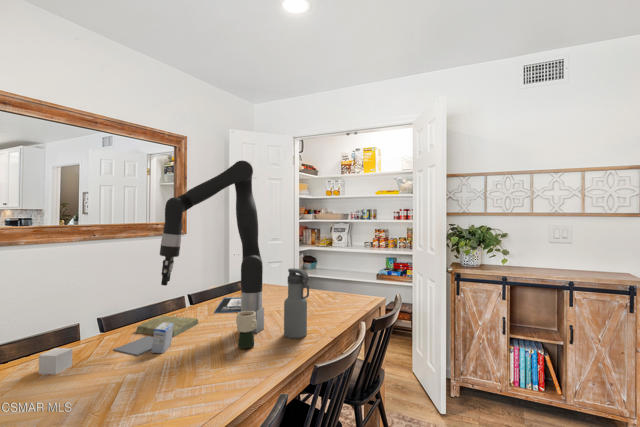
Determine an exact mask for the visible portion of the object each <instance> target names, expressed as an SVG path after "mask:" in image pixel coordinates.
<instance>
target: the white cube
mask: <svg viewBox="0 0 640 427" xmlns="http://www.w3.org/2000/svg"><path fill="white" fill-rule="evenodd" d="M71 366H72V367H73V348H69V347H68V348H67V347H65V348H63V347H54V348H53V349H50V350H48V351H45V352H43V353H40V354H39V355H38V374H39V375H48V374H52V376H53V375H54V376H57V375H58V373H59V374H60V373H63V372H64V371H66V370H68V369H70V368H72V367H71ZM69 367H70V368H69ZM67 368H68V369H67ZM65 369H66V370H65ZM63 370H64V371H63ZM56 374H57V375H56Z"/></svg>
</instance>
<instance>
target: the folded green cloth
mask: <svg viewBox="0 0 640 427" xmlns="http://www.w3.org/2000/svg"><path fill="white" fill-rule="evenodd" d="M163 322H164V323H172V324H174V327H173V334H172V338H175V337H177V336H179V335H181V334H182V333H185V332H186V331H188V330H190V329H191V328H193V327H196V326H197V325H199V319H198V318H194V317H185V316H171V315H169V316H168V315H160V316H157V317H155V318H152V319H149V320H147V321H145V322H142V323H141V324H139V325H137V327H136V330H135V333H136V334H145V335H146V334H147V335H153V336H154V329H156V328H157V327H158V326H159V325H160V324H162V323H163Z"/></svg>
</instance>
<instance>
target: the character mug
mask: <svg viewBox="0 0 640 427" xmlns="http://www.w3.org/2000/svg"><path fill="white" fill-rule="evenodd" d="M235 323H236V329H237V332H239V334H238V335H239V336H238V341H237V348H240V349H249V348H251V347H254V346H255V337H254V333H253V330H254V329H256V328H257V321H256V313H255V312H254V311H242V312H239V313H236V320H235Z"/></svg>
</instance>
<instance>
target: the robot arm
mask: <svg viewBox="0 0 640 427" xmlns="http://www.w3.org/2000/svg"><path fill="white" fill-rule="evenodd" d="M253 175H254V168H253V166H252V164H251V163H250V162H249V161H246V160H238V161H235V163H234V164H232V165H231V166H230V167H228V168H227V169H225V170H224V171H223V172H221V173H219V174H218V175H216V176H214V177H211V178H210V179H208V180H205V181H204V182H202V183H199V184H198V185H196V186H194V187H192V188H190V189H189V190H186V192H185V193H182V194H181V195H179V196H177V197H175V196H174V197H171V198H168V200H167V201H166V203H165V208H164V224H163V231H162V237H161V240H160V241H161V242H160V246H159V247H160V248H159V255H160V256H161V257H165V258H164V259H163V261H162V266H161V283H160V285H161V286H164V287H165V286H167V285H168V282H170V281H171V273H172V271H173V267H174V264H175V260H174V259H175V258H179V256H180V250H181V242H182V229H183V213H185V212H186V211H188V210H190V209H191V208H193V207H194V206H196V205H198V204H201V203H203V202H204V201H206V200H208V199H210V198H212V197H214V196H215V195H216V194H218V193H219V192H221V191H222V190H224V189H226V188H228V187H230V186H232V185H234V189H235V214H236V215H235V217H236V225H237V229H238V230H237V231H238V234H239V238H240V241H241V246H242V247H241V248H242V249H241V251H242V260H241V265H240V289H241V290H240V293H241V294H240V297H241V312H242V311H254V312H255V313H256V321H257V328H256V329H254V330H253V334H257V333H260V332H262V331H263V330H264V328H265V308H264V307H263V269H264V267H263V260H262V256H261V252H260V248H259V220H258V210H257V205H256V201H255V199H254V194H253Z"/></svg>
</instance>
